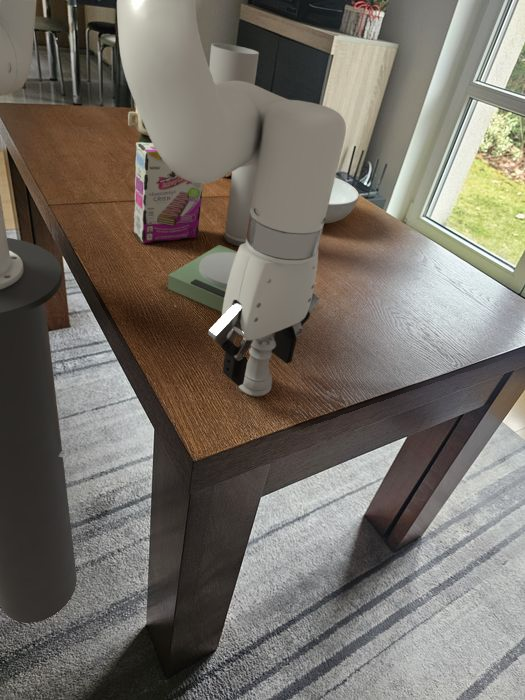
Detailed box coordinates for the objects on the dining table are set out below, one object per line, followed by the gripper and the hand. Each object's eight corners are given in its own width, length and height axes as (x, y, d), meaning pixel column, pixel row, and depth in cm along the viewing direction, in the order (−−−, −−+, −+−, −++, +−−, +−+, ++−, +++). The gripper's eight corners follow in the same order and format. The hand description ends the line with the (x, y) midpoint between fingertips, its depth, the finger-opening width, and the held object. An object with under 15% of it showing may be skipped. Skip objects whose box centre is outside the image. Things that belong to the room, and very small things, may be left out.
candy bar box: (143, 245, 90) (145, 151, 80) (133, 233, 93) (133, 141, 84) (199, 238, 96) (207, 150, 86) (188, 227, 99) (194, 141, 89)
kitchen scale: (243, 322, 76) (246, 303, 74) (167, 288, 80) (168, 270, 78) (286, 284, 87) (290, 267, 85) (217, 257, 91) (219, 240, 89)
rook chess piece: (268, 402, 62) (279, 350, 58) (233, 393, 63) (241, 342, 58) (273, 379, 66) (284, 329, 61) (240, 372, 66) (248, 321, 61)
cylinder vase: (193, 144, 144) (201, 43, 129) (219, 138, 153) (229, 43, 138) (229, 156, 140) (241, 54, 125) (253, 150, 149) (267, 53, 134)
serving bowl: (276, 190, 124) (281, 162, 120) (358, 213, 120) (366, 184, 116) (246, 217, 108) (251, 185, 104) (340, 244, 104) (349, 212, 100)
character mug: (131, 165, 122) (132, 107, 114) (124, 155, 127) (124, 99, 119) (175, 165, 127) (178, 110, 119) (166, 156, 132) (168, 102, 124)
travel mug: (218, 233, 99) (230, 126, 87) (249, 232, 102) (265, 128, 90) (228, 248, 95) (242, 137, 83) (260, 247, 97) (279, 139, 85)
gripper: (314, 209, 59) (286, 332, 70) (193, 234, 49) (181, 374, 59) (363, 235, 55) (326, 361, 66) (242, 269, 45) (221, 412, 55)
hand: (257, 366), depth 62 cm, fingers open, 7 cm apart
